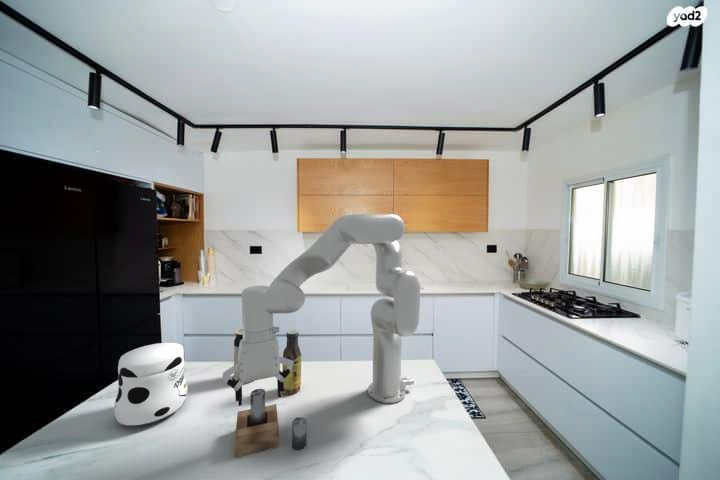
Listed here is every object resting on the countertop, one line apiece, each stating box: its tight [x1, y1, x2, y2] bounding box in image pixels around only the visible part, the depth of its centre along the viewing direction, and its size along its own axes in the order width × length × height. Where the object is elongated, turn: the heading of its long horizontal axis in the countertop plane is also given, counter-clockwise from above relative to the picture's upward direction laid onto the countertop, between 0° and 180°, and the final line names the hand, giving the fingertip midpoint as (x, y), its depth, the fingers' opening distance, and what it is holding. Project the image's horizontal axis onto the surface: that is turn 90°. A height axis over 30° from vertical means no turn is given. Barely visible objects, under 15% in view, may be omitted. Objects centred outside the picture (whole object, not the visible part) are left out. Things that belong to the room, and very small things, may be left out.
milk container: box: [113, 342, 188, 427], centre depth 83 cm, size 17×17×18 cm
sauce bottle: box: [281, 329, 302, 395], centre depth 95 cm, size 7×6×20 cm
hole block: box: [234, 404, 280, 458], centre depth 73 cm, size 10×10×5 cm
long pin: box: [250, 388, 266, 427], centre depth 73 cm, size 4×4×12 cm
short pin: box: [291, 416, 308, 451], centre depth 71 cm, size 4×4×6 cm
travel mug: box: [233, 327, 253, 385], centre depth 103 cm, size 8×8×18 cm
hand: (260, 398), depth 73 cm, fingers open, 9 cm apart
